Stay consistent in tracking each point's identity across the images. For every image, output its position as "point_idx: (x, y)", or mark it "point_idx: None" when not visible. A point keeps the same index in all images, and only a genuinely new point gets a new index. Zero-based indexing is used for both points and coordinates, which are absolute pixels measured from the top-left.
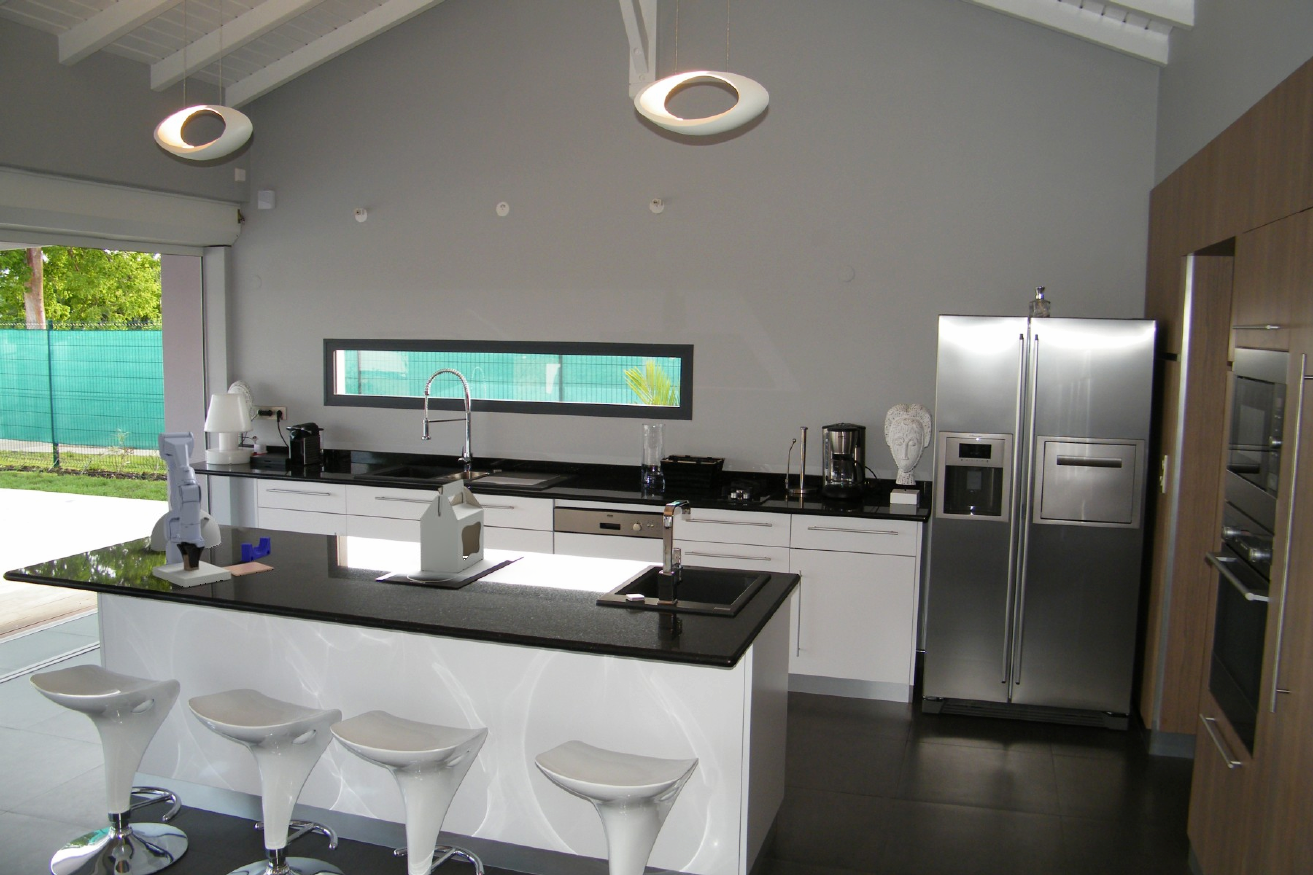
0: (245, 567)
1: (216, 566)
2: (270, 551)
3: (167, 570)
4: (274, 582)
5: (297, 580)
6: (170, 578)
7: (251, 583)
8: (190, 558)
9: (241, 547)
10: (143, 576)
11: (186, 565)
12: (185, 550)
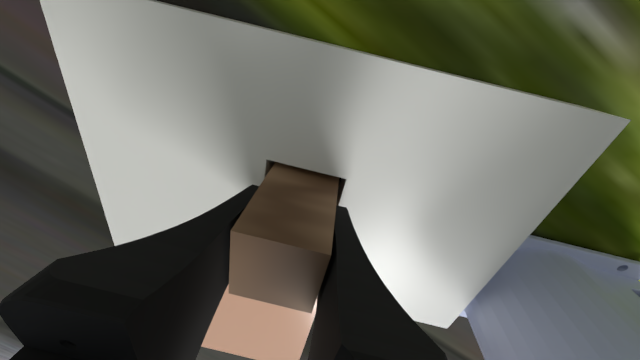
0: (249, 325)
1: None
2: None
3: (413, 105)
4: (5, 243)
5: (4, 279)
6: (299, 36)
7: (24, 207)
8: (198, 216)
9: None
10: (633, 40)
11: (293, 190)
12: (327, 310)
